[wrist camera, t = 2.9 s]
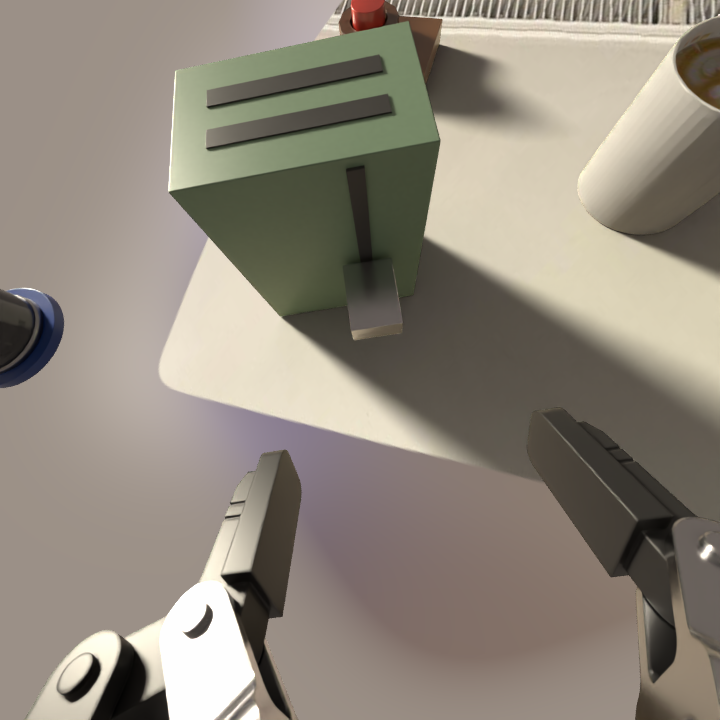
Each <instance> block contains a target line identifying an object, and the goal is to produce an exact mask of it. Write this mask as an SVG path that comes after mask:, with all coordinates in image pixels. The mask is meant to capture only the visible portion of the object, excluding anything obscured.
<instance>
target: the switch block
mask: <svg viewBox="0 0 720 720" xmlns="http://www.w3.org/2000/svg"><path fill="white" fill-rule="evenodd" d="M406 21H409V23H410V27H411V31H412V35H413V39H414V42H415V46H416V50H417V54H418V58H419V61H420V65H421V69H422V73H423V76H424V80H425V84H426V83H427V80H428V77H429V74H430V71H431V68H432V65H433V62H434V58H435V55H436V52H437V49H438V46H439V43H440V35H441V28H442V19H435V18H420V17H406V16H399V15H398V12H397V10H396V8H395V6H393V5H391V4H390V3H388V2H386V1H385V24H384V26H387V25H392V24H397V23H401V22H406ZM382 27H383V26H382ZM339 30H340V35H345V34H350V33H355V32H358V31H356V30H354V28H353V22H352V11H351V7H350V8H348V9H347V10H346V11H344V12H343V14H342V16H341V19H340V21H339Z"/></svg>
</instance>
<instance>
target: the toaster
mask: <svg viewBox="0 0 720 720" xmlns="http://www.w3.org/2000/svg"><path fill="white" fill-rule="evenodd" d="M171 140H172V141H171V158H170V174H169V193H170V194H171V195H172V197H173V198H174V199H175V200H176V201H177V202H178V203H179V204H180V205H181V207H182V208H183V209H184V210H185V211H186V212H187V213H188V214H189V216H190V217H191V218H192V219H193V220H194V221H195V222H196V223H197V224H198V226H199V227H200V228H201V229H202V230H203V231H204V232H205V233H206V234H207V236H208V237H209V238H210V239H211V240H212V241H213V242H214V243H215V244H216V246H217V247H218V248H219V249H220V250H221V251H222V252H223V253H224V255H225V256H226V257H227V258H228V259H229V260H230V261H231V262H232V263H233V265H234V266H235V267H236V268H237V269H238V270H239V271H240V272H241V273H242V275H243V276H244V277H245V278H246V279H247V280H248V281H249V282H250V283H251V285H252V286H253V287H254V288H255V289H256V290H257V291H258V292H259V293H260V295H261V296H262V297H263V298H264V299H265V300H266V301H267V302H268V304H269V305H270V306H271V307H272V308H273V309H274V310H275V311H276V312H277V314H278V315H279V316H286V315H292V314H299V313H305V312H311V311H317V310H324V309H330V308H336V307H342V306H347V298H346V290H345V282H344V274H343V265H349V264H355V263H361V262H367V261H373V260H379V259H385V258H392V263H393V269H394V274H395V280H396V285H397V291H398V297H405V296H411V295H413V293H414V288H415V282H416V276H417V271H418V265H419V259H420V254H421V248H422V242H423V237H424V231H425V226H426V220H427V214H428V209H429V203H430V197H431V192H432V186H433V180H434V175H435V169H436V164H437V158H438V152H439V147H440V137H439V133H438V129H437V126H436V122H435V118H434V114H433V111H432V107H431V103H430V99H429V95H428V92H427V88H426V84H425V80H424V76H423V73H422V69H421V65H420V61H419V58H418V54H417V50H416V46H415V42H414V39H413V35H412V31H411V27H410V23H409V21H406V22H401V23H397V24H392V25H387V26H383V27H378V28H373V29H369V30H364V31H359V32H355V33H350V34H345V35H340V36H336V37H331V38H326V39H322V40H317V41H312V42H308V43H303V44H298V45H294V46H289V47H284V48H280V49H275V50H270V51H265V52H261V53H256V54H251V55H247V56H242V57H238V58H233V59H228V60H224V61H219V62H214V63H209V64H205V65H200V66H195V67H190V68H186V69H181V70H177V71H175V88H174V105H173V123H172V139H171Z"/></svg>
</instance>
